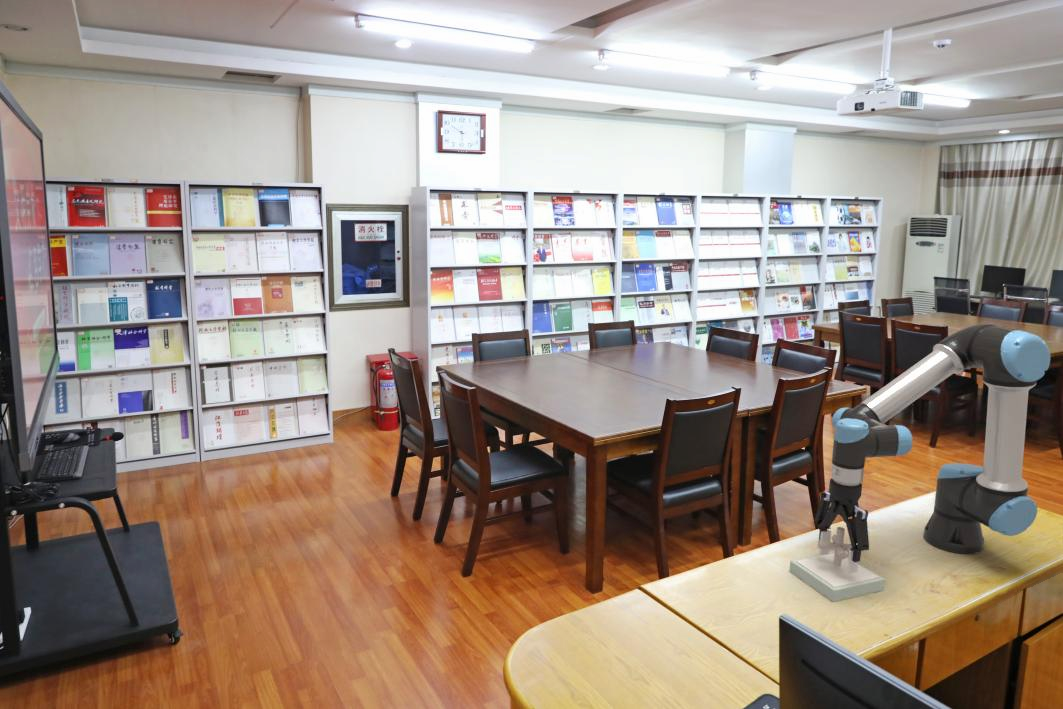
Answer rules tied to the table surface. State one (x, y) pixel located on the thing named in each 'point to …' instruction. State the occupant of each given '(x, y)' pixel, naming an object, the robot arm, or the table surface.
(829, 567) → the stand
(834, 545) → the pipe connector
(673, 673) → the table surface
